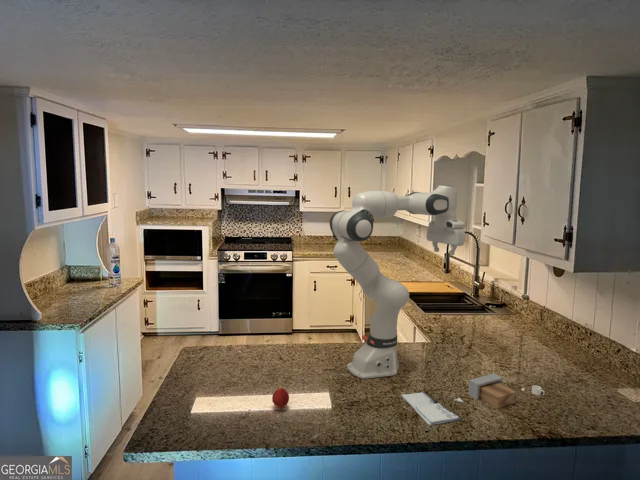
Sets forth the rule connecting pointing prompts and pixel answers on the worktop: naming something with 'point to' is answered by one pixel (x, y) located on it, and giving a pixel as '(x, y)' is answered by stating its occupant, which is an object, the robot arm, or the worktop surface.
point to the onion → (280, 397)
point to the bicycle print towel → (430, 408)
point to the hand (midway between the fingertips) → (443, 253)
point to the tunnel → (482, 383)
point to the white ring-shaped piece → (535, 390)
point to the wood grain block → (497, 394)
